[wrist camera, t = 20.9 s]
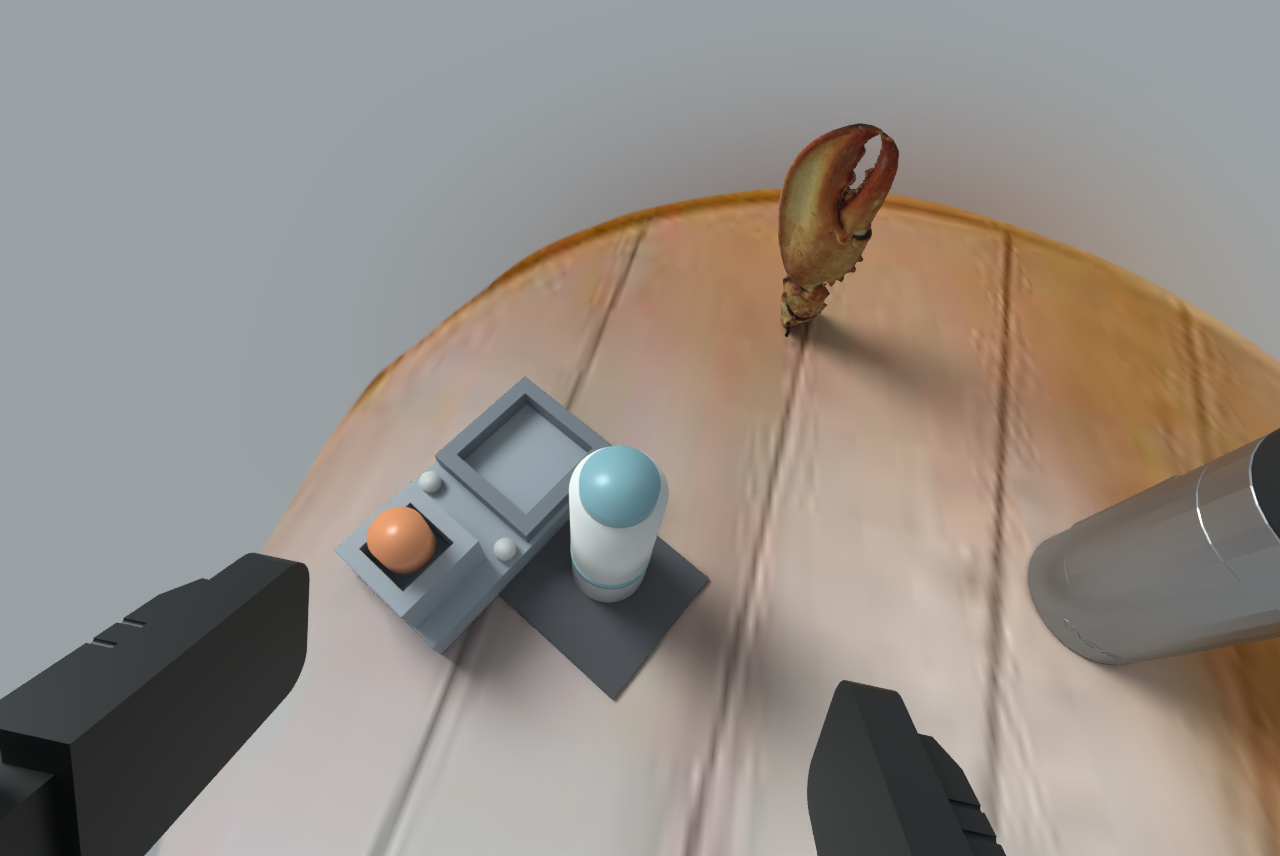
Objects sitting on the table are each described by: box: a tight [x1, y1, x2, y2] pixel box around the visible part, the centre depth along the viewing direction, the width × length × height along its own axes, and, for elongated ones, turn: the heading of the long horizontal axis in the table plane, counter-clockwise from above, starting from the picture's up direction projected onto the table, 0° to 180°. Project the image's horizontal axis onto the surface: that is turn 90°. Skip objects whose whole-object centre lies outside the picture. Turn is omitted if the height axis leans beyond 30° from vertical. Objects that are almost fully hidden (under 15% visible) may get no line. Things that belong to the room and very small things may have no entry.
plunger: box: [367, 507, 436, 574], centre depth 36 cm, size 3×3×2 cm
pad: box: [499, 519, 709, 699], centre depth 42 cm, size 10×10×1 cm
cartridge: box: [569, 446, 668, 603], centre depth 37 cm, size 5×5×14 cm
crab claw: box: [778, 124, 899, 337], centre depth 45 cm, size 7×5×20 cm
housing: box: [334, 377, 612, 654], centre depth 42 cm, size 17×9×6 cm, turn 140°
